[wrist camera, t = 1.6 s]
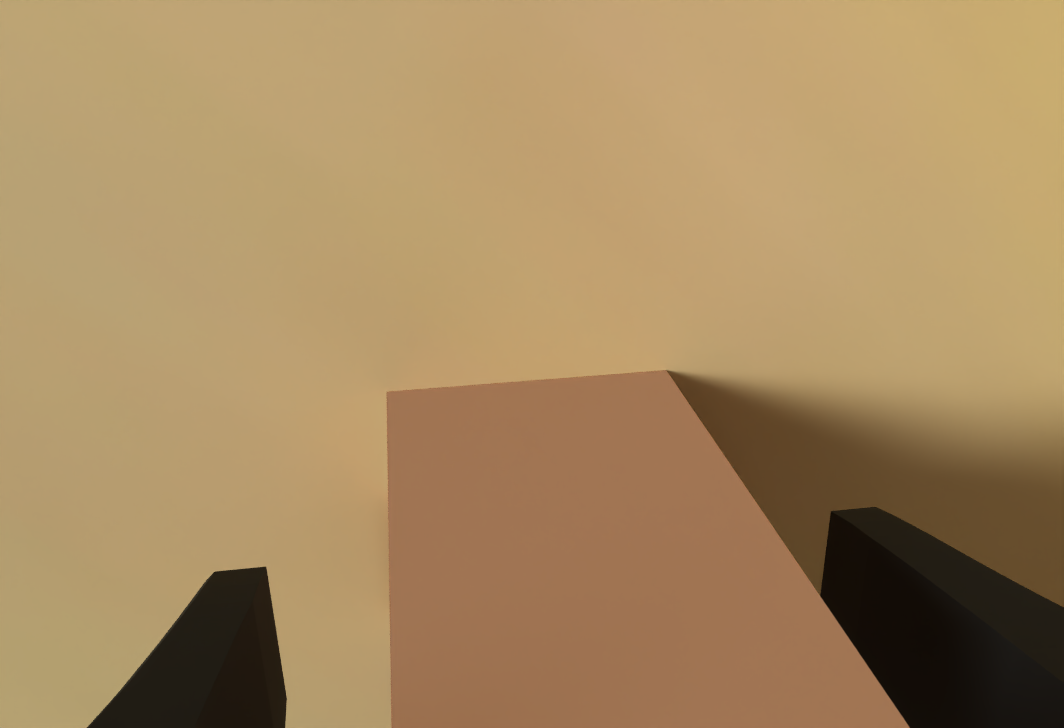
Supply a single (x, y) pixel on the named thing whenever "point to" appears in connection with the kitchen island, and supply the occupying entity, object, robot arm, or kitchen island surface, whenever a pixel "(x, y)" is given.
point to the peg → (597, 571)
